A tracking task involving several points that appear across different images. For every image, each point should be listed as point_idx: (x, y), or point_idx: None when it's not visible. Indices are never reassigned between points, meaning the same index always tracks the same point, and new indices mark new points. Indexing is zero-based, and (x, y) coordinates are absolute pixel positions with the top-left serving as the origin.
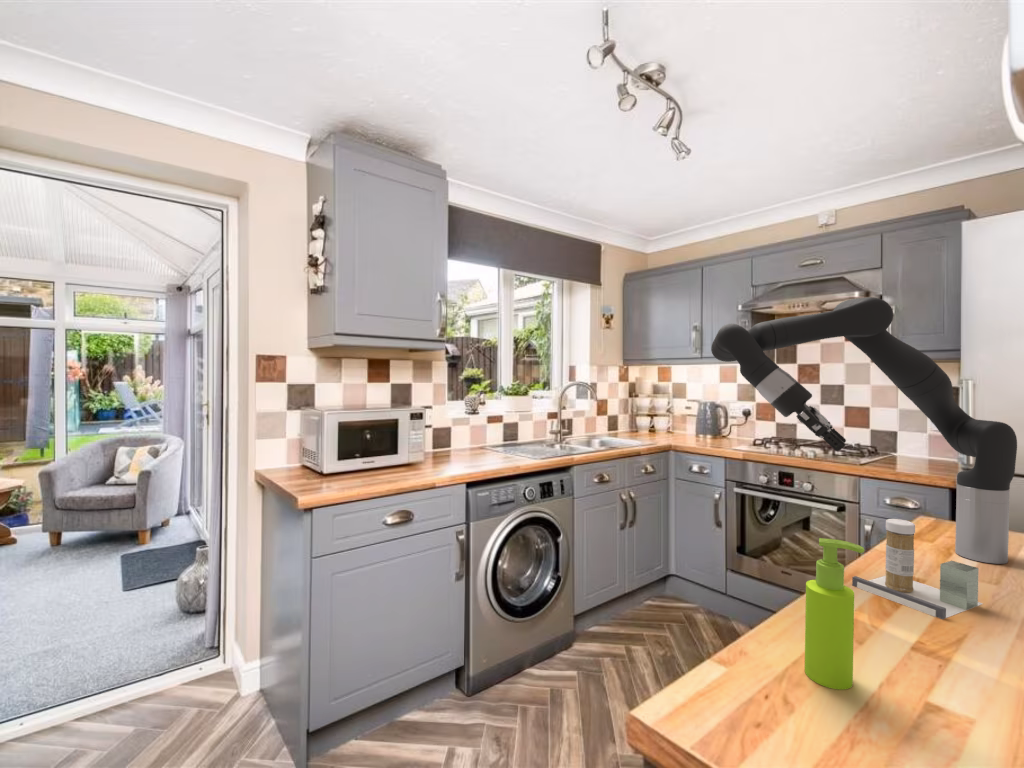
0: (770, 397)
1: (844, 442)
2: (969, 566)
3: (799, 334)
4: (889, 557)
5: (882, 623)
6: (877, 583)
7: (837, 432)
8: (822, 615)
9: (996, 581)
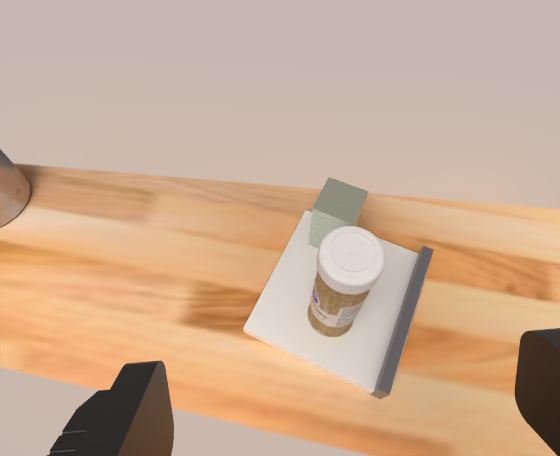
0: None
1: (164, 377)
2: (329, 187)
3: None
4: (359, 309)
5: (489, 338)
6: (331, 351)
7: (122, 447)
8: None
9: (134, 192)
